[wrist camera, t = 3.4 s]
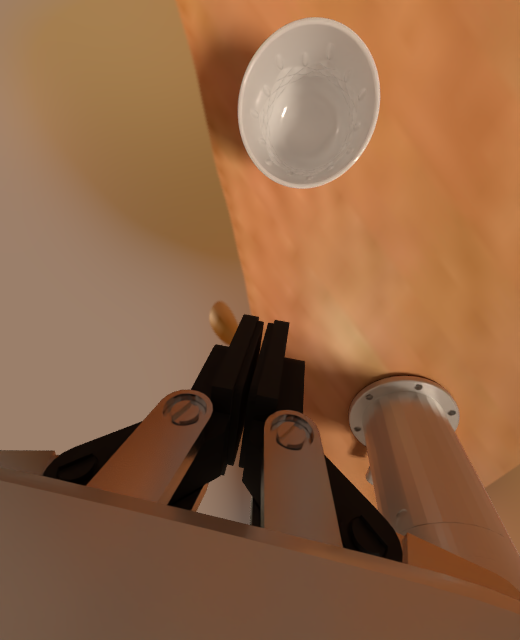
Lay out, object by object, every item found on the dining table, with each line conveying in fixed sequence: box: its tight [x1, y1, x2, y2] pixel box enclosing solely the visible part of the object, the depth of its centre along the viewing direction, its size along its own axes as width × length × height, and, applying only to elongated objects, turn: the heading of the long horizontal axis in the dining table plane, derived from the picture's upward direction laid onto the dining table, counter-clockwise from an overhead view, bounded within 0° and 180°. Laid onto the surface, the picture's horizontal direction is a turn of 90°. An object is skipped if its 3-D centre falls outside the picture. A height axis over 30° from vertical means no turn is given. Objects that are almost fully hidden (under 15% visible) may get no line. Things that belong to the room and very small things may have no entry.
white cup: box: [238, 17, 380, 189], centre depth 21 cm, size 8×8×10 cm
